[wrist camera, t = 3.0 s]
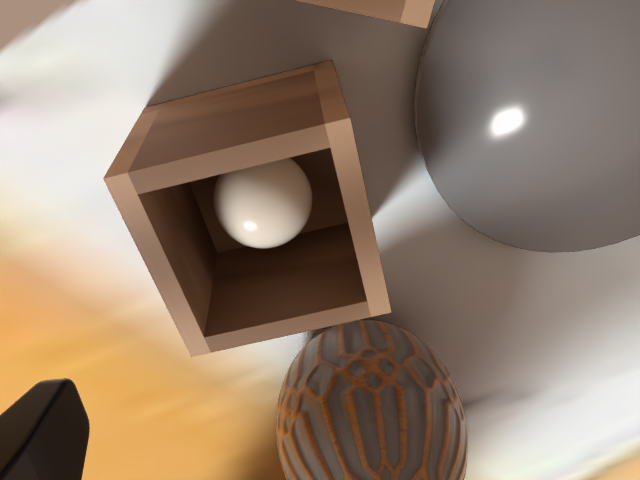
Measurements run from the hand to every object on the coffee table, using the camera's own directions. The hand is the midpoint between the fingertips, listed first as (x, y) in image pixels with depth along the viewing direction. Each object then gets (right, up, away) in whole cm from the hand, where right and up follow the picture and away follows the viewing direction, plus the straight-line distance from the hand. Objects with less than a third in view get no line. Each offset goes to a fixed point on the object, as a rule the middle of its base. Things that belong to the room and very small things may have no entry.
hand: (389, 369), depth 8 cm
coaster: (+8, +7, +10) cm, 14 cm away
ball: (-3, +4, +10) cm, 11 cm away
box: (-3, +4, +11) cm, 12 cm away
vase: (+1, -3, +16) cm, 16 cm away
